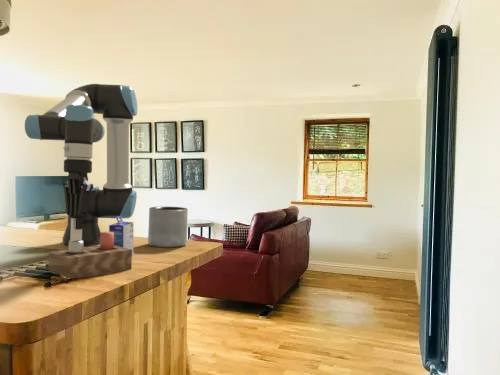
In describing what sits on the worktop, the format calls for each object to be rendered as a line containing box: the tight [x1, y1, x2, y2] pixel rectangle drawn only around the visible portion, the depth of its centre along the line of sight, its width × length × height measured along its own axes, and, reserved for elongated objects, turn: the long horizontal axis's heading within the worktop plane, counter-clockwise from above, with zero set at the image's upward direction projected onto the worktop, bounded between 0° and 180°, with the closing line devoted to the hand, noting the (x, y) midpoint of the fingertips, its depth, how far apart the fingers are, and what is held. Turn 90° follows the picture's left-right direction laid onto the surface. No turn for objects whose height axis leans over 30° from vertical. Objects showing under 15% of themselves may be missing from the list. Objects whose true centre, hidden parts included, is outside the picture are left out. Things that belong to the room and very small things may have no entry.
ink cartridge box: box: [108, 216, 134, 257], centre depth 142 cm, size 10×6×14 cm, turn 176°
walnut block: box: [48, 245, 133, 280], centre depth 123 cm, size 20×12×6 cm, turn 141°
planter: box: [147, 206, 188, 249], centre depth 171 cm, size 16×16×16 cm
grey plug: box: [67, 240, 85, 255], centre depth 119 cm, size 4×4×6 cm
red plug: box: [99, 231, 114, 251], centre depth 126 cm, size 4×4×6 cm
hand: (76, 240), depth 118 cm, fingers closed
